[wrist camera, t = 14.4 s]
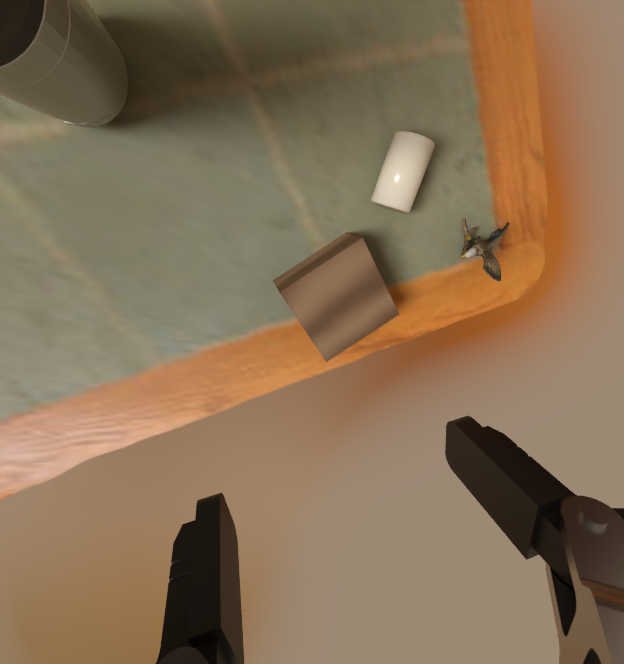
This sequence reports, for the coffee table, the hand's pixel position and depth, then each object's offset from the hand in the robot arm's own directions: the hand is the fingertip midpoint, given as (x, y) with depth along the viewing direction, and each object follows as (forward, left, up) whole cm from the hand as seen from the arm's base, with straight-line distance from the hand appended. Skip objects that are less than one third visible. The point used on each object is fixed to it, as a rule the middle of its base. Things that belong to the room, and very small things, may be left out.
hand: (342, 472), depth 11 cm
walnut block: (+6, +10, -36) cm, 38 cm away
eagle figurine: (+4, +32, -36) cm, 49 cm away
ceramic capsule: (-11, +22, -34) cm, 42 cm away
